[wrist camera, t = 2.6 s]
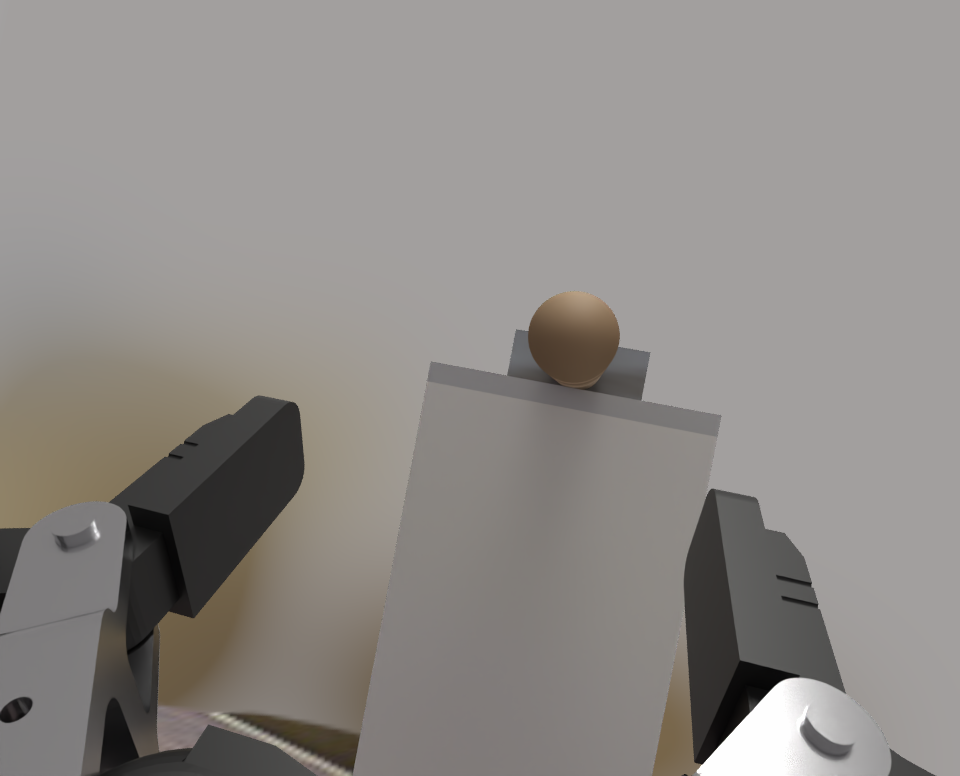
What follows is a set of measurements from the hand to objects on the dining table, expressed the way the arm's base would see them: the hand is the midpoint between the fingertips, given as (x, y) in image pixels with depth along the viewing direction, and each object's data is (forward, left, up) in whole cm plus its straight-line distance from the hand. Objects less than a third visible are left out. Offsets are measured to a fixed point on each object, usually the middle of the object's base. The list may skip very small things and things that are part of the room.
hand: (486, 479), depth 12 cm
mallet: (+1, +19, +2) cm, 19 cm away
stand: (+1, +24, -30) cm, 38 cm away
